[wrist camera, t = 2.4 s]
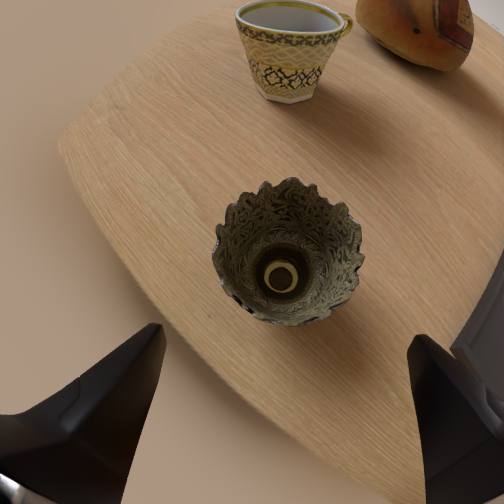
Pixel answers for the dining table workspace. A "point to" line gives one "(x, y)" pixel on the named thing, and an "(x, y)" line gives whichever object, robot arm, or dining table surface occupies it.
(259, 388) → the dining table surface
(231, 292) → the cup
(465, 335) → the dark gray tray
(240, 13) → the ceramic cup
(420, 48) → the ceramic pitcher
